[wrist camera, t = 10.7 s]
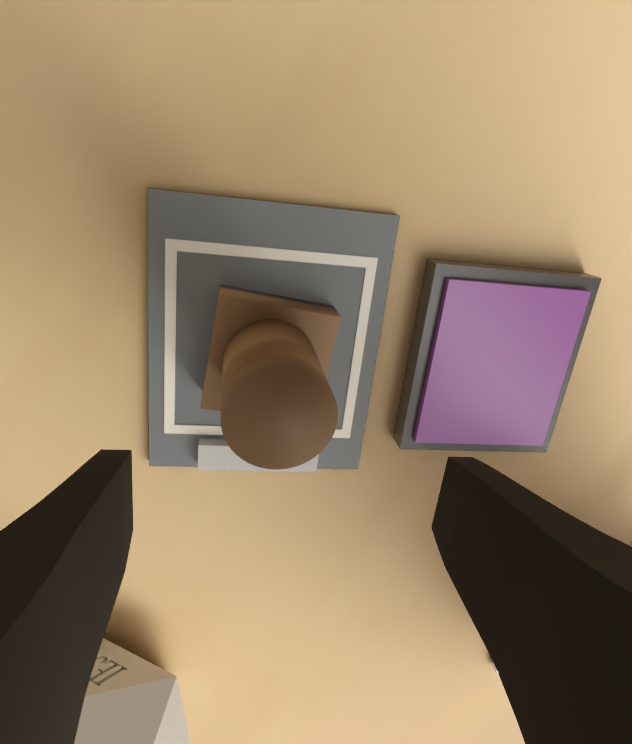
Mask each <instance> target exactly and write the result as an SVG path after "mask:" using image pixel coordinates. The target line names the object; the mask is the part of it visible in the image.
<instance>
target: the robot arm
mask: <svg viewBox="0 0 632 744" xmlns="http://www.w3.org/2000/svg"><path fill="white" fill-rule="evenodd" d="M432 530H433V533H434V537H435V540H436V543H437V546H438V549H439V552H440V554H441V557H442V560H443V562H444V565H445V567H446V569H447V571H448V574H449V576H450V578H451V580H452V582H453V584H454V586H455V588H456V590H457V592H458V594H459V595H460V597H461V599H462V601H463V603H464V605H465V607H466V609H467V611H468V613H469V615H470V617H471V619H472V621H473V623H474V625H475V627H476V628H477V630H478V632H479V634H480V636H481V638H482V640H483V642H484V644H485V646H486V648H487V650H488V652H489V654H490V656H491V658H492V660H493V667H494V669H495V671H496V673H498V674H499V676H500V678H501V681H502V683H503V686H504V689H505V691H506V694H507V696H508V699H509V701H510V704H511V706H512V709H513V711H514V714H515V716H516V719H517V722H518V724H519V727H520V730H521V733H522V735H523V738H524V741H525V744H632V547H631V546H629V545H627V544H625V543H623V542H621V541H618V540H616V539H614V538H612V537H610V536H608V535H606V534H604V533H602V532H601V531H599V530H597V529H595V528H593V527H591V526H589V525H588V524H586V523H584V522H582V521H580V520H579V519H577V518H575V517H573V516H571V515H570V514H568V513H566V512H564V511H563V510H561V509H559V508H558V507H556V506H554V505H552V504H551V503H549V502H547V501H546V500H544V499H542V498H541V497H539V496H538V495H536V494H534V493H533V492H531V491H529V490H528V489H526V488H525V487H523V486H521V485H520V484H518V483H516V482H515V481H513V480H512V479H510V478H508V477H507V476H505V475H504V474H502V473H500V472H499V471H497V470H495V469H493V468H492V467H490V466H488V465H487V464H485V463H483V462H481V461H479V460H477V459H475V458H473V457H448V460H447V464H446V469H445V473H444V477H443V481H442V485H441V490H440V494H439V498H438V502H437V506H436V511H435V515H434V519H433V523H432ZM132 532H133V502H132V453H131V450H100V451H99V452H98V453H97V454H96V455H94V456H93V457H92V458H91V459H89V460H88V461H87V462H86V463H85V464H84V465H83V466H81V467H80V468H79V469H78V470H77V471H76V472H75V473H73V474H72V475H71V476H70V477H69V478H68V479H66V480H65V481H64V482H63V483H62V484H61V485H59V486H58V487H57V488H56V489H55V490H53V491H52V492H51V493H50V494H49V495H47V496H46V497H45V498H44V499H42V500H41V501H40V502H39V503H38V504H36V505H35V506H34V507H32V508H31V509H29V510H28V511H27V512H25V513H24V514H23V515H21V516H20V517H19V518H17V519H16V520H15V521H13V522H12V523H11V524H9V525H8V526H7V527H5V528H4V529H2V530H1V531H0V744H74V742H75V737H76V733H77V729H78V724H79V720H80V715H81V711H82V706H83V702H84V698H85V694H86V691H87V687H88V684H89V680H90V677H91V673H92V670H93V667H94V664H95V661H96V658H97V655H98V652H99V649H100V646H101V643H102V640H103V637H104V634H105V631H106V628H107V625H108V622H109V619H110V616H111V613H112V610H113V606H114V603H115V600H116V597H117V594H118V591H119V588H120V585H121V582H122V579H123V575H124V572H125V568H126V563H127V558H128V553H129V548H130V542H131V537H132Z"/></svg>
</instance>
